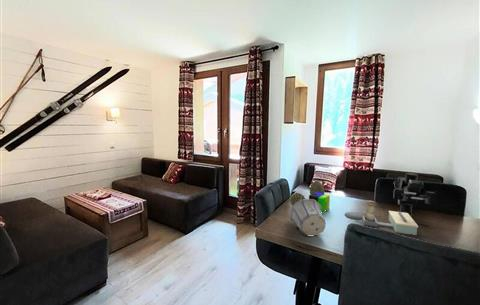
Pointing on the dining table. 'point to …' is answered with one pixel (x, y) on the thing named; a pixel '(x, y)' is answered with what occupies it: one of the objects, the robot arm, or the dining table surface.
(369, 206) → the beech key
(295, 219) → the tipped over flowerpot
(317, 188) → the decorative egg
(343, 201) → the dining table surface
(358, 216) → the rubber mat
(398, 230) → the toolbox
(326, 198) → the puzzle toy
